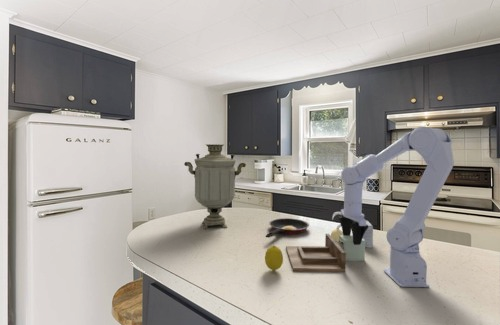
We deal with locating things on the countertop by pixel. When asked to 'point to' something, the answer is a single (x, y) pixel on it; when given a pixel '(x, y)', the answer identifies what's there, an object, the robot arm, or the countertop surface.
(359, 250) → the pale green block
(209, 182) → the samovar
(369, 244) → the medicine box
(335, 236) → the yellow stemmed oval
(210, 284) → the countertop surface
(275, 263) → the lemon
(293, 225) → the frying pan
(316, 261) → the brown wooden stand
